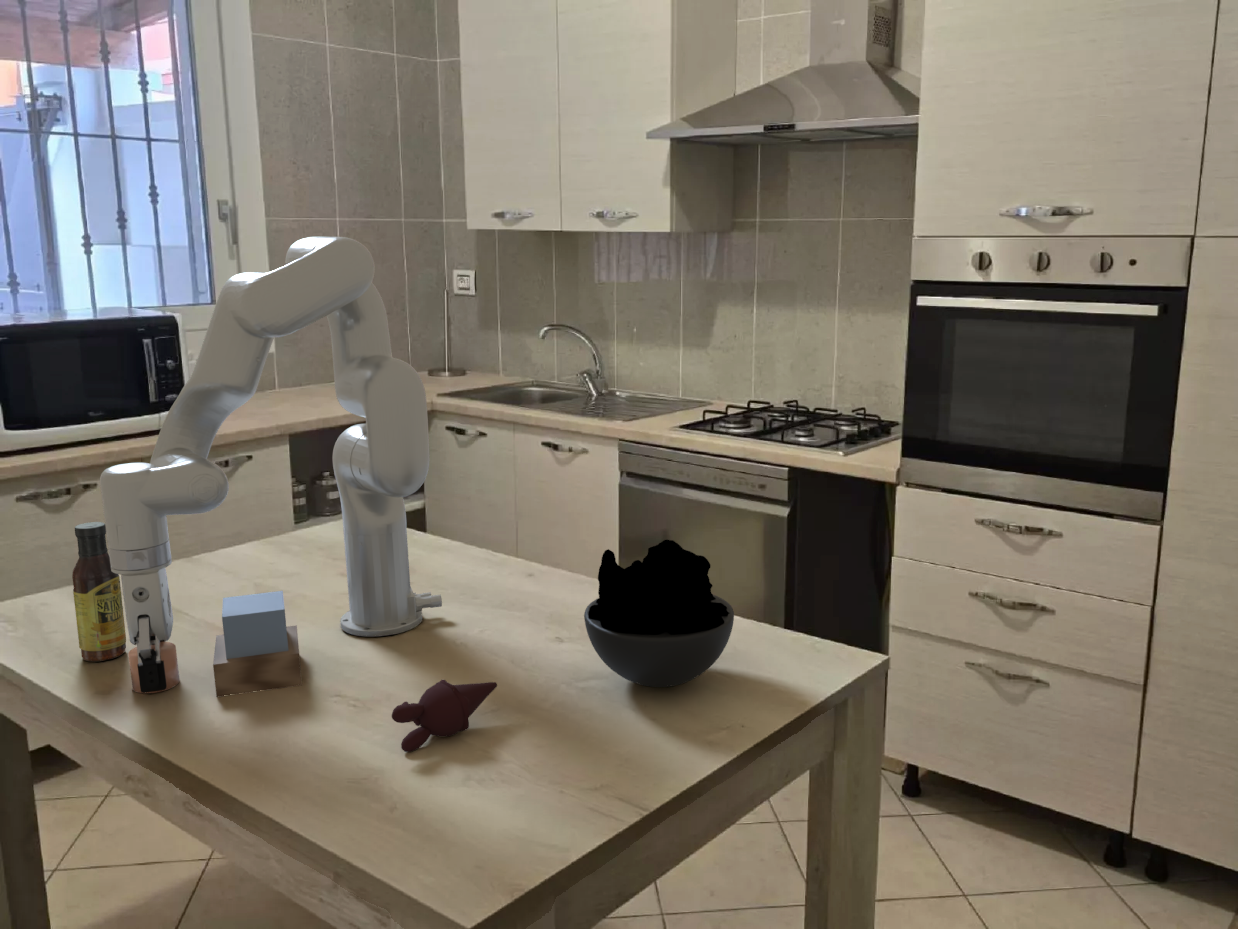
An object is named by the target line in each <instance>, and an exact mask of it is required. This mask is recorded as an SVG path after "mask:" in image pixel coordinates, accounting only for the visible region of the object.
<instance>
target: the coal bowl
mask: <svg viewBox="0 0 1238 929" xmlns="http://www.w3.org/2000/svg"><path fill="white" fill-rule="evenodd" d="M647 550H648V551H647V554H646V556H645V557H643V559H642V561H641V560H639V559H636V560H634V561H633V562H632V563H631V564H630V565H629V566H627V567H625V568H624V567H622V566H620V565H619V564H618V563H617V561H616V556H615V555H616V554H615V553H614V551H612V550H611V549H609V548H608V549H606V550H604V552H603V554H602V555H601V561H600V562H601V563H600V566H599V569H598V573H597V574H598V575H597V581H598V592H597V593H598V598H596V599H594V600H593V601H591V602H590V603H589V604H588V605H587V606H586V608H585V610H584V614H583V616H584V625H585V629H586V632H587V636H588V638H589V641H590V643H591V646H592V647H593V649H594V651H595V652H596V654H597V655H598V657H599V658H600V660H601V661H602V662H603V663H604V664H605V665H606V666H607V667H608V668H609V669H610V670H611V671H613V672H614V673H615V674H617V675H619V676H620V677H621V678H623V679H625V680H627V681H629V682H632V683H634V684H636V685H640V686H645V687H651V688H652V687H653V688H667V687H668V688H669V687H674V686H679V685H682V684H684V683H688V682H690V681H693V679H696V678H697V677H699V676H700V675H702V674H704V673H705V672H706V671H708V670H709V669H710V668H711V667H712V666H713V665H714V663H716V661H718V659H719V658H720V657H721V655H722V654H723V652H724V650H725V649H726V646H727V644H728V642H729V640H730V638H731V634H732V631H733V626H734V620H735V612H734V609H733V607H732V605H731V604H730V603H729V602H728V601H726V600H725V599H724V598H722V597H720V596H718V595H715V594H713V593H712V588H713V584H712V583H711V582H710V577H709V575H708V574H709V571H710V569H711V566H712V565H711V563H710V561H709V560H708V559H707V558H706V556H704V555H698V554H696V553H694V552H692V551H690V550H686V549H684V548H683V547H682V546H681V545H680V544H679V543H678V542H677V541H675V540H672V539H664V540H662V541H661V542H659V543H658V544H656V545H653V546H651V547H648V549H647Z"/></svg>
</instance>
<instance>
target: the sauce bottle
mask: <svg viewBox="0 0 1238 929" xmlns="http://www.w3.org/2000/svg"><path fill="white" fill-rule="evenodd" d="M74 535H75V537H76V541H77V547H78V548H77V550H78V552H77V554H78V559H77V561H76V563H75V566H74V568H73V570H72V575H71V576H72V585H73V590H72V593H73V602H74V609H75V610H74V611H75V612H74V613H75V618H76V619H75V620H76V627H77V628H76V629H77V636H78V638H77V639H78V647H79V649H81V650H80V651H81V652H80V653H81V658H82V660H84V661H86V662H94V663H98V662H99V663H101V662H103V661H104V662H105V661H108V660H109V661H110V660H113V659H116V658H119V657H121V656H122V655H123V654H124V653H125V652H126V649H127V644H126V643H127V635H126V625H125V616H124V606H123V597H122V589H121V588H122V586H121V579H120V578H121V577H120V574H116V573H113V572H112V571H111V565H110V557H109V550H108V545H107V536H106V526H105V522H103V521H93V522H90V521H89V522H85V523H79V524H76V525H75V526H74Z"/></svg>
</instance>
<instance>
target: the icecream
mask: <svg viewBox="0 0 1238 929" xmlns="http://www.w3.org/2000/svg"><path fill="white" fill-rule="evenodd" d="M497 686H498V683H497V682H496V681H494V682H493V681H490V682H479V683H477V682H476V683H464V684H453V683H450V682H447V680H446V679H441V680H440V681H438V682H435V684H433V685H432V686H430V687H429V688H427V689H426V690H425V691H424V692H423V694H422V696H421V697H420V699H419V701H418V702H417V703H416V702H412V703H409V702H408V701H404V702H402V703H401V704H399V705H396V706H395V707H394V708H393V709H392V713H391V719H392V720H393V721H394V722H396V723H399V724H405V723H411V722H413V723H414V724H415V725H416V726H417V728H414V729H413V730H411V731H410V732H409V733H408V734H407V735H406V736H404V738H403V739H402V741H401V744H400V748H401V749H402V751H403V752H406V753H412V752H413V751H416V750H418V749H420V748H421V747H422V745H424V744H425V743H427V741H428V739H429V738H430V737H431V736H436V737H451V736H453V735H456V734H457V733H460V732H465V731H467V730H468V729H469V727H470V722H469V717H471V715H472V714H474V712H475V711H476V710H477V709H478V708H479V707H480V706H481V705H482V703H483V702H484V701H485V700H486V699H487V697H488V696H490V694H492V692H493V691H494V690H495V689H496V688H497Z"/></svg>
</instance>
